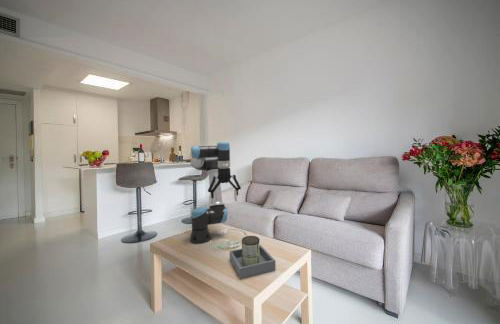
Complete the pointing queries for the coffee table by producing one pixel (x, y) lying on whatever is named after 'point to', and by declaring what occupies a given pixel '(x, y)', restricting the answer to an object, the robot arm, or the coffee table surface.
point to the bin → (247, 271)
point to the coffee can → (250, 250)
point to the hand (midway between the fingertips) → (225, 202)
